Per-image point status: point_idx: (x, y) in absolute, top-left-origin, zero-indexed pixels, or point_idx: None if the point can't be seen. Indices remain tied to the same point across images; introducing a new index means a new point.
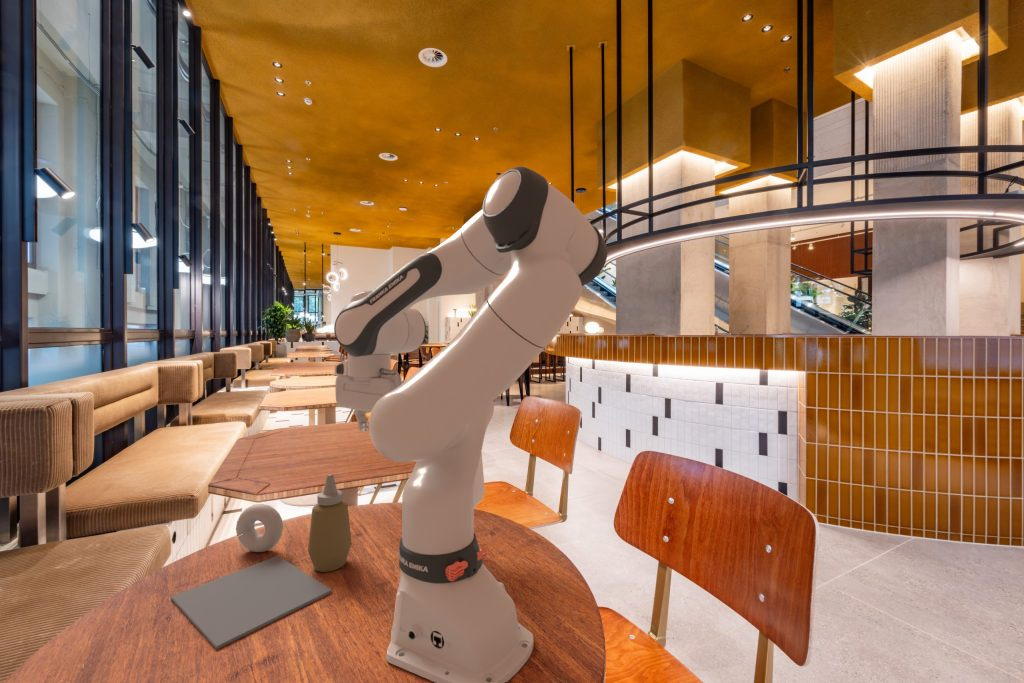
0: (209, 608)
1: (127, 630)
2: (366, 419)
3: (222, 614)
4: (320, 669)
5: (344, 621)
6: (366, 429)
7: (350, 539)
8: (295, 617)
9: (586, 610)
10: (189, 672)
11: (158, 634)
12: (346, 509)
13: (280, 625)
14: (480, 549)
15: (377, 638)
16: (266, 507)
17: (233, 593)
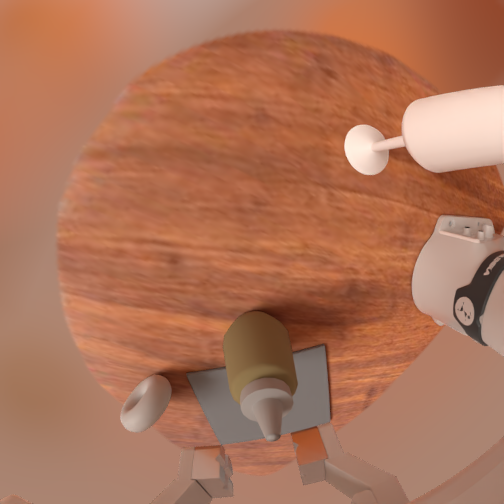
0: None
1: (252, 456)
2: (186, 489)
3: (287, 422)
4: (408, 364)
5: (378, 342)
6: (224, 455)
7: (274, 323)
8: (337, 376)
9: None
10: (339, 428)
11: (274, 445)
12: (288, 364)
13: (338, 386)
14: (370, 128)
15: (416, 322)
16: (147, 422)
17: None
